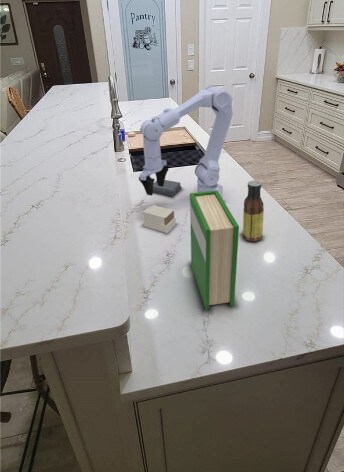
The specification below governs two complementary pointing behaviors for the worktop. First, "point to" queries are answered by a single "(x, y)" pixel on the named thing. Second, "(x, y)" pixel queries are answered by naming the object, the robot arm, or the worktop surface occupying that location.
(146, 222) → the cream rectangular block
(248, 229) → the sauce bottle
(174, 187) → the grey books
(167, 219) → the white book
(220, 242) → the hardback book
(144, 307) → the worktop surface
